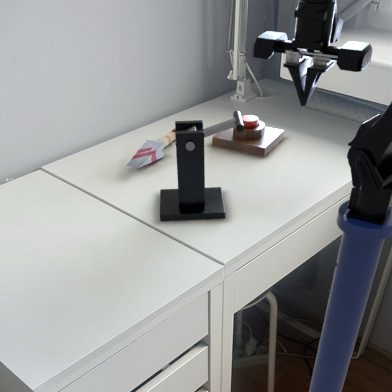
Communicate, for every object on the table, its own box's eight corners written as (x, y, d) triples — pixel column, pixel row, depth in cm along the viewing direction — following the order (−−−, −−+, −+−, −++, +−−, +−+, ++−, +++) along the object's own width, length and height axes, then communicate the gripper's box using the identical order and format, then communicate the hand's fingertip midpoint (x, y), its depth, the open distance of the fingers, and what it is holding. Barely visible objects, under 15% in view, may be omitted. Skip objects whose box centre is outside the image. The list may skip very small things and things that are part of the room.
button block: (283, 138, 108) (285, 121, 105) (264, 156, 102) (265, 139, 99) (233, 128, 112) (234, 111, 110) (212, 145, 106) (212, 128, 104)
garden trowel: (122, 157, 96) (170, 123, 109) (123, 171, 97) (170, 136, 111) (139, 160, 94) (186, 126, 108) (141, 174, 96) (186, 139, 110)
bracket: (221, 193, 92) (222, 114, 82) (225, 219, 85) (226, 137, 75) (160, 195, 91) (154, 116, 82) (160, 221, 85) (153, 140, 75)
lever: (242, 120, 81) (238, 105, 79) (245, 134, 77) (241, 119, 75) (183, 141, 83) (178, 127, 81) (184, 155, 79) (179, 141, 77)
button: (260, 125, 105) (261, 116, 104) (253, 131, 103) (253, 122, 102) (244, 122, 106) (245, 113, 105) (237, 128, 104) (237, 119, 103)
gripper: (392, -6, 79) (369, 99, 90) (281, -16, 86) (273, 83, 97) (371, 9, 72) (350, 121, 83) (253, -2, 79) (248, 102, 90)
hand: (303, 105), depth 89 cm, fingers closed
